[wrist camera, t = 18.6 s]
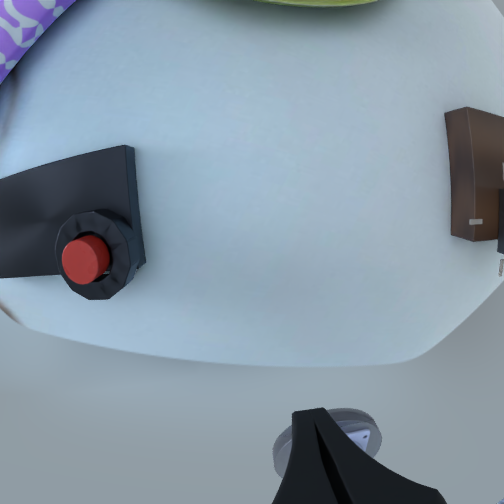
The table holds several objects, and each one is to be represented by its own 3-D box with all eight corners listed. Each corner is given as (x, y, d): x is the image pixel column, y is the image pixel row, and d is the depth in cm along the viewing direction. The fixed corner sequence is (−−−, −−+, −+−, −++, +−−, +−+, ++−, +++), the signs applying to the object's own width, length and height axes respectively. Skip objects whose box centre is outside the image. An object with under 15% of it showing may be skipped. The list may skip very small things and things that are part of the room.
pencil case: (95, -55, 13) (62, -104, 4) (144, -35, 14) (112, -101, 5) (-43, 107, 16) (-102, 99, 6) (-19, 154, 17) (-92, 154, 8)
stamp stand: (506, 261, 21) (527, 269, 18) (443, 272, 21) (465, 283, 18) (504, 127, 18) (526, 124, 15) (438, 111, 18) (462, 104, 15)
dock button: (106, 233, 16) (93, 237, 15) (113, 275, 17) (102, 283, 15) (72, 237, 16) (58, 242, 15) (79, 277, 17) (66, 285, 15)
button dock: (137, 146, 18) (117, 139, 15) (152, 280, 20) (136, 298, 17) (-2, 183, 18) (-28, 185, 15) (14, 287, 20) (-10, 300, 17)
